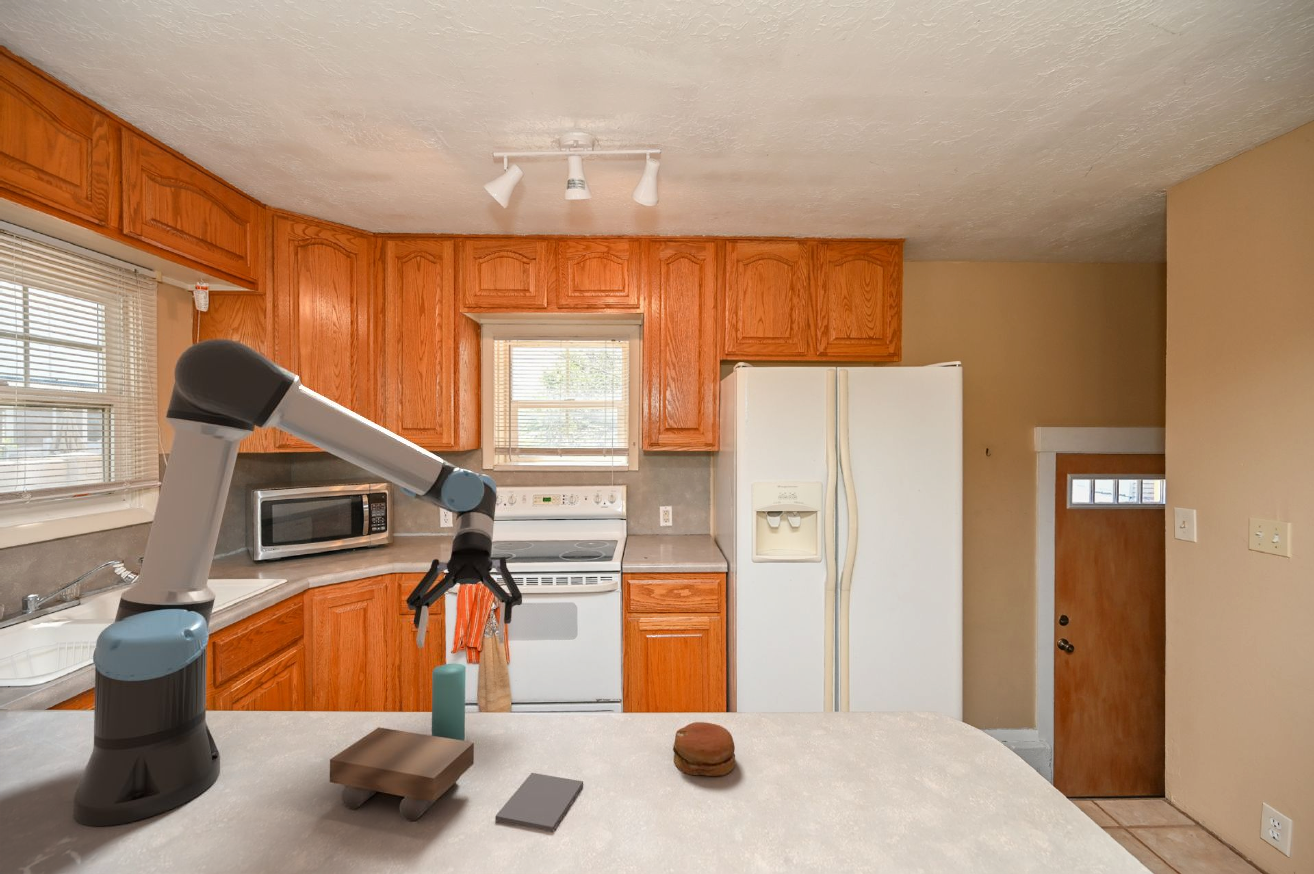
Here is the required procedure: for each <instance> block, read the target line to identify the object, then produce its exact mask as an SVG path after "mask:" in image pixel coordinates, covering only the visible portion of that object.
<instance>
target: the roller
mask: <svg viewBox="0 0 1314 874" xmlns="http://www.w3.org/2000/svg"><path fill="white" fill-rule="evenodd" d="M466 667H467V666H465V665H464V664H461V663H447V664H442V665H438V666H436V667H434V668H433V669H432V671H431V672H432V674H431V676H432V677H431V679H432V680H431V682H432V683H431V684H432V685H431V692H432V693H431V736H437V737H443V738H449V739H456V740H462V741H466V739H465V736H466V735H465V733H466V732H465V731H466V730H465V729H466V728H465V727H466V724H465V723H466Z"/></svg>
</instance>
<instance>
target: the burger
mask: <svg viewBox="0 0 1314 874" xmlns="http://www.w3.org/2000/svg"><path fill="white" fill-rule="evenodd" d="M735 747H736V746H735V742H734V739H733V736H732V733H730V731H729V730H728V729H727V728H725V727H724V726H721V725H720V724H716V723H711V722H705V721H703V722H702V721H695V722H691V723H689V724H688V725H685V726H684V727H681V728H680V729H678V730H677V731H676V733H675V738H674V743H673V747H672V751H673V753H674V755H673V763H674V765H675V767H676V768H677V769H678V770H680V771H681V772H682V773H685V774H687V775H691V776H700V775H703V776H707V777H712V776H713V777H718V776H725V775H727V774H728V773H730V772H732V770H733V769H734V768H735V765H736V754H735Z"/></svg>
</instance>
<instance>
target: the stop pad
mask: <svg viewBox="0 0 1314 874" xmlns="http://www.w3.org/2000/svg"><path fill="white" fill-rule="evenodd" d="M583 787H584V781H583V780H577V779H572V778H565V777H559V776H555V775H554V776H553V775H547V774H542V773H536V772H531V773H530V774H529V775H528V776H527V778H526V779H525V780H524V781H523V783H522V784H521V785H520V786H519V787H518V788H517V790H516V791H515V792H514V793H513V794H512V795H511V797H510V798H508V800H507V801H506V803H505V804H504V805H503V806H502V808H501V809H500V810H499V811H498V812H497V813H496V814H495V819H494V820H495V821H496V822H501V823H506V824H510V825H515V826H516V825H517V826H522V827H527V828H533V829H537V830H542V831H547V832H551V833H552V832H554V831H555V829H556V828H557V827H558V824H559V823H560V822H561V820H562V819H563V817H564V815H565V814H566V812H567V811H568V809H569V807H570V806H571V805H572V803H573V802H574V801H575V799H576V797H578V796H577V795H579V793H580V792H581V790H582V788H583Z"/></svg>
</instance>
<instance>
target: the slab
mask: <svg viewBox="0 0 1314 874" xmlns="http://www.w3.org/2000/svg"><path fill="white" fill-rule="evenodd" d="M474 755H475V743H474V742H473V741H467V740H465V741H462V740H456V739H449V738H443V737H437V736H432V735H431V734H430V735H429V734H424V733H418V732H410V731H404V730H400V729H399V730H397V729H393V728H392V729H391V728H386V727H379V726H378V727H377V728H376V729H373V730H372V731H371V732H370V733H368V734H366V735H365V736H363V737H362V738H360V739H359V740H356V741H355V742H354V743H352V744H351V745H349V746H348V747H347V748H345V749H344V750H342V751H340V752H339V753H337V754H336V755H334V756H333V757H331V758H329V783H332V784H337V785H342V786H346V787H345V788H343V790H342V793H341V800H342V803H343V804H344V806H345V807H346V808H348V809H349V810H356V809H357V808H359V807H360V806H361V805H362V804H363V803H365V802H366V801H367V800H369V799H371V797H373V795H375V794H377V792H379V793H384V794H390V795H394V796H395V795H396V796H400V797H404V798H403V799H402V800H401V801H400V803H399V812H400V814H401V816H402V817H403V819H405V820H406V821H409V822H415V821H416V820H418V819H419V818H420V817H421V816H422V815H423V814H424V813H425V812H426V811H427V810H428V809H429V808H430V807H431V806H432V805H433V804H434V803H435V802H436V801H438V799H440V798H441V797H442V795H444V794H445V793H446V792H447V791H448V790H449V789H450V788H451V787H452V786H453V785H454V784H455V783H457V781H458V780H460V778H461V776H463V774H464V773H465V772H467V771H468V770H469V769H470V768H471V767H472V766H473V765H474V761H475V759H474V758H475V757H474Z"/></svg>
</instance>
